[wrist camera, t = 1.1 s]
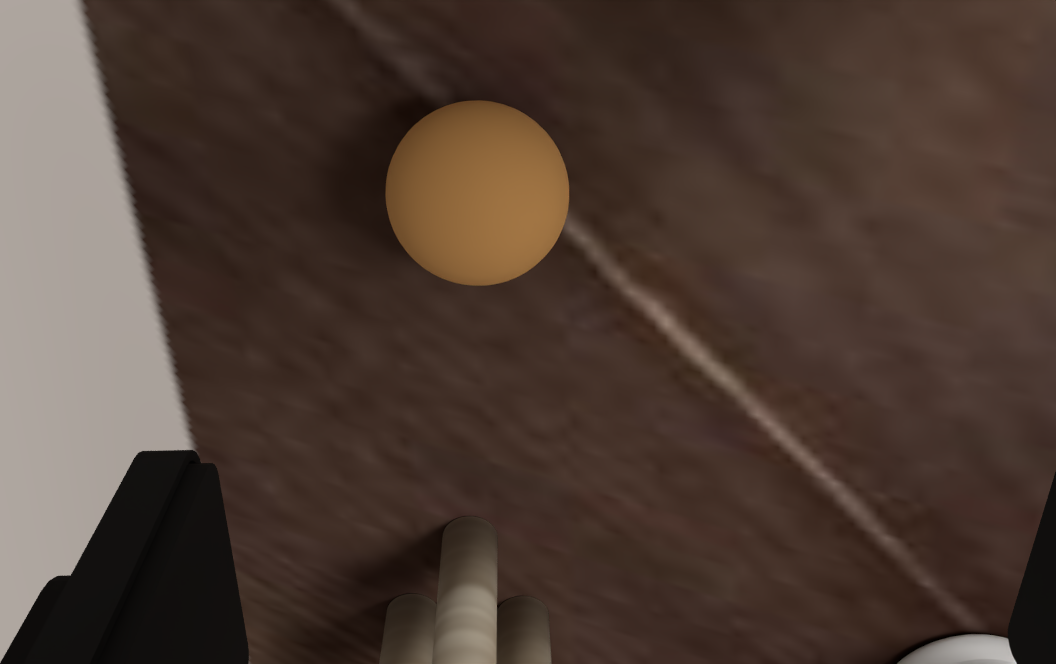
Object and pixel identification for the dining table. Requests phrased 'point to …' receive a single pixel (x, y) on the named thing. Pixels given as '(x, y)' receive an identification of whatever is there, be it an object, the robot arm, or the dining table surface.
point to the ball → (477, 193)
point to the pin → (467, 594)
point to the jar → (963, 651)
